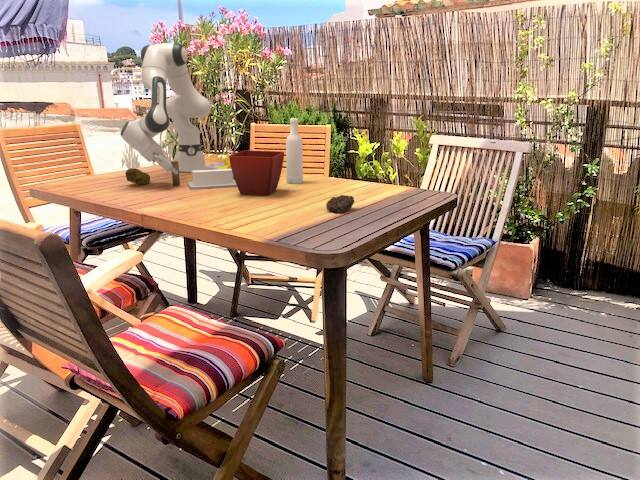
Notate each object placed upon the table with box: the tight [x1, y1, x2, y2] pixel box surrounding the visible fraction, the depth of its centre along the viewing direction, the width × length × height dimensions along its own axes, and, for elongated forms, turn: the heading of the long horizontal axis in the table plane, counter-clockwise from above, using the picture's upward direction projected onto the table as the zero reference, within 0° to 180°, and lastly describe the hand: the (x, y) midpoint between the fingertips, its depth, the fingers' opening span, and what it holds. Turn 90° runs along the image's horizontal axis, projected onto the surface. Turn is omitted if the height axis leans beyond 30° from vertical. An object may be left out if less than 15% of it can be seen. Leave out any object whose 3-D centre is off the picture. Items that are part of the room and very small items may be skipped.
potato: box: [125, 167, 151, 186], centre depth 245 cm, size 8×13×8 cm, turn 136°
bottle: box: [285, 117, 304, 185], centre depth 248 cm, size 8×8×30 cm
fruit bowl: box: [206, 153, 234, 179], centre depth 267 cm, size 28×27×11 cm
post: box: [170, 160, 181, 187], centre depth 243 cm, size 3×3×11 cm
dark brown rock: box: [325, 194, 355, 214], centre depth 196 cm, size 12×10×5 cm
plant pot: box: [228, 149, 285, 196], centre depth 226 cm, size 19×19×17 cm
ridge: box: [186, 169, 238, 191], centre depth 243 cm, size 14×22×7 cm, turn 110°
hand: (176, 172), depth 243 cm, fingers closed on post, 3 cm apart
